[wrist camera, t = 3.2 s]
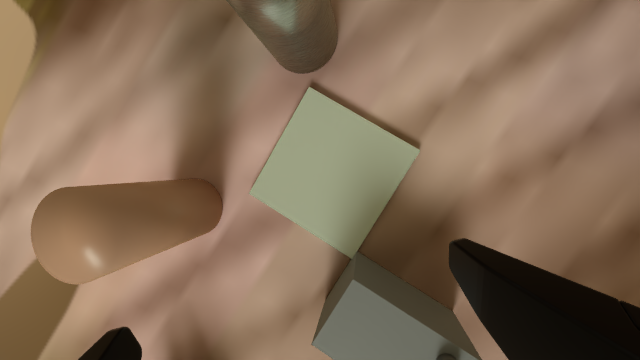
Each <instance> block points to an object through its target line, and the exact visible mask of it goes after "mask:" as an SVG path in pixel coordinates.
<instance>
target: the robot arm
mask: <svg viewBox="0 0 640 360" xmlns="http://www.w3.org/2000/svg"><path fill="white" fill-rule="evenodd" d="M449 267H450V270H451V272H452V274H453V275H454V277H455V279H456V280H457V282H458V284H459V286H460V287H461V289H462V291H463V292H464V294H465V296H466V297H467V299H468V301H469V303H470V304H471V306H472V308H473V309H474V311H475V313H476V314H477V316H478V318H479V319H480V321H481V322H482V324H483V325H484V326H485V328H486V329H487V331H488V332H489V333H490V335H491V336H492V337H493V339H494V340H495V342H496V343H497V344H498V346H499V347H500V348H501V350H502V351H503V353H504V354H505V355H506V357H507V358H508V359H509V360H640V308H639V307H636V306H634V305H631V304H629V303H626V302H624V301H618V299H616V298H613V297H611V296H608V295H606V294H603V293H601V292H598V291H596V290H593V289H591V288H588V287H586V286H583V285H581V284H578V283H576V282H573V281H571V280H568V279H566V278H563V277H561V276H558V275H556V274H553V273H551V272H548V271H546V270H543V269H541V268H538V267H536V266H533V265H531V264H528V263H526V262H523V261H521V260H518V259H516V258H513V257H511V256H508V255H506V254H503V253H501V252H498V251H496V250H493V249H491V248H488V247H486V246H483V245H481V244H478V243H476V242H473V241H470V240H468V239H465V238H462V239H458V240H454V241H452V242H450V244H449ZM141 357H142V349H141V346H140V344H139V342H138V341H137V339H136V338H135V336H134V335H133V333H132V332H131V330H130V329H129V328H128V327H120V328H116V329H112V330H110V331H108V332H107V333H106V334H105V335H103V336H102V337H101V338H100V339H99V340H98V341H97V342H96V343H95V344H94V345H93V346H92V347H91V348H90V349H89V350H88V351H86V352H85V353H84V354H83V355H82V356H81V357H80V358H79V359H78V360H141Z"/></svg>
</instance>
